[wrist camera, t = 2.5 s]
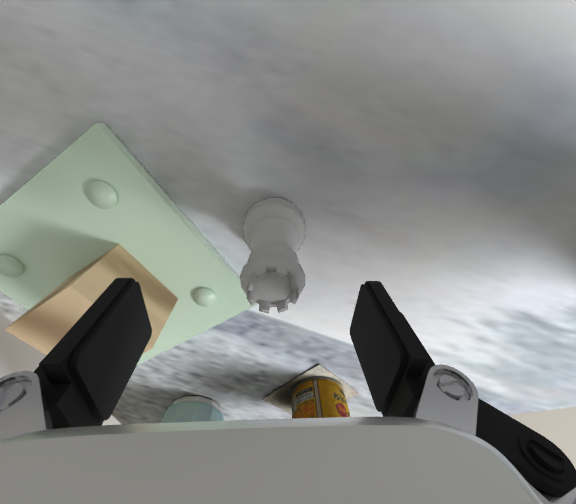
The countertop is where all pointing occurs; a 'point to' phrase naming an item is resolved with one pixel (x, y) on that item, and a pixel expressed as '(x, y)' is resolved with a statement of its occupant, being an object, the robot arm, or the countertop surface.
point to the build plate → (112, 236)
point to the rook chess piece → (273, 254)
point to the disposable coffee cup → (193, 410)
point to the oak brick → (91, 300)
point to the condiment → (314, 395)
